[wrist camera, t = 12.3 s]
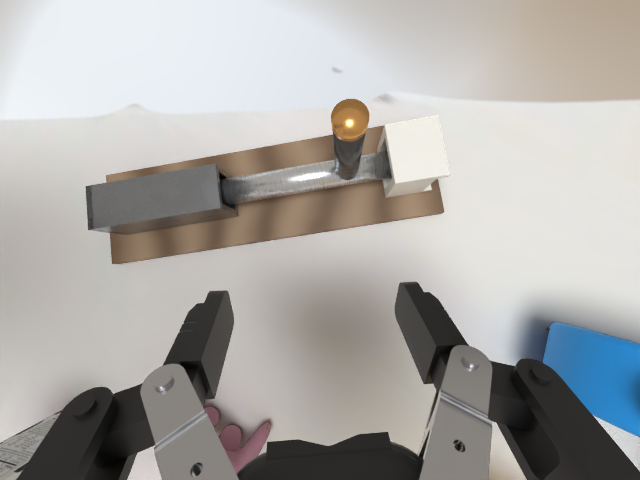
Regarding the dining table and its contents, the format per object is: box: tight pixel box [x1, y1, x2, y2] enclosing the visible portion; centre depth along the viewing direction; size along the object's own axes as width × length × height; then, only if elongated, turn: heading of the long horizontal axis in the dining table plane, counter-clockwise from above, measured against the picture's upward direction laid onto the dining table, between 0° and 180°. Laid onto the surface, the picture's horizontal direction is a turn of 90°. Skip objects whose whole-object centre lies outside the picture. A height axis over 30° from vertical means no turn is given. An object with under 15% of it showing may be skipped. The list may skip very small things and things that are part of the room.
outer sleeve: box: [86, 164, 239, 235], centre depth 29 cm, size 14×5×5 cm, turn 98°
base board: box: [106, 126, 444, 264], centre depth 32 cm, size 39×11×1 cm, turn 98°
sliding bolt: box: [220, 99, 392, 205], centre depth 24 cm, size 22×3×12 cm, turn 98°
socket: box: [377, 115, 450, 198], centre depth 27 cm, size 5×6×5 cm
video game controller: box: [204, 407, 270, 474], centre depth 28 cm, size 10×5×7 cm, turn 55°
